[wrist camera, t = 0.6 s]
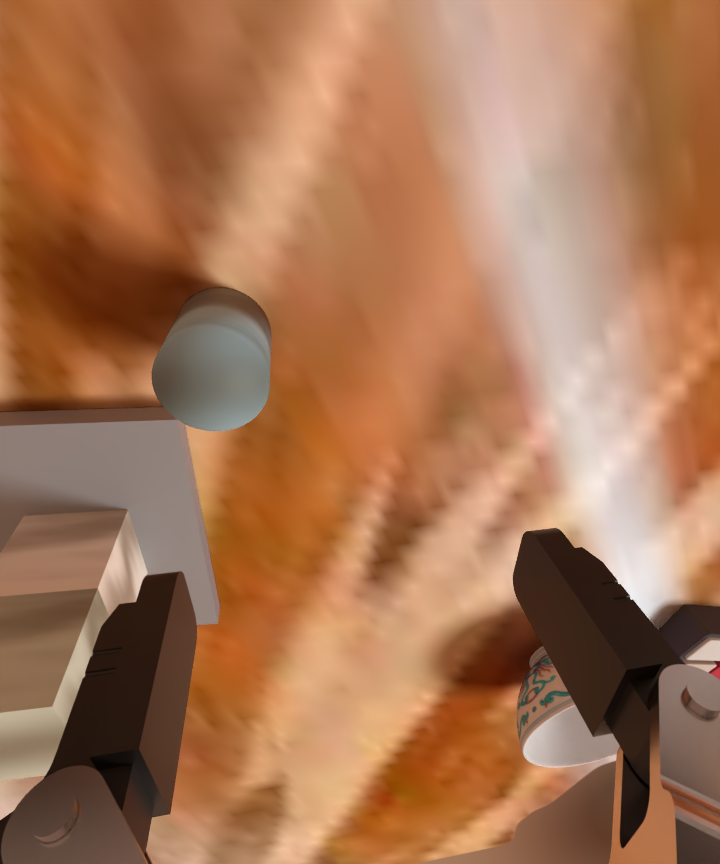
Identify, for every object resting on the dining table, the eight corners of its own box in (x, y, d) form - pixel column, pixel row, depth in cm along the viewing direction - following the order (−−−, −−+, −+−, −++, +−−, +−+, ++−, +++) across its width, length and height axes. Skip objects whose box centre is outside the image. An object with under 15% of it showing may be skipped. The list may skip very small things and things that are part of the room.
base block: (23, 515, 29) (-30, 598, 24) (127, 509, 29) (97, 588, 24) (54, 580, 32) (14, 664, 27) (147, 572, 33) (124, 653, 28)
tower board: (-86, 415, 26) (-104, 429, 24) (181, 406, 28) (176, 419, 26) (32, 624, 36) (24, 642, 35) (219, 606, 38) (217, 623, 37)
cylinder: (168, 287, 24) (140, 331, 19) (268, 287, 25) (265, 329, 20) (184, 375, 27) (163, 433, 22) (273, 373, 27) (272, 429, 22)
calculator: (622, 713, 53) (713, 641, 45) (601, 675, 57) (682, 602, 49) (694, 712, 56) (792, 645, 48) (671, 676, 60) (758, 607, 52)
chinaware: (647, 643, 52) (698, 716, 46) (534, 704, 56) (567, 778, 50) (589, 591, 45) (640, 669, 38) (465, 665, 49) (492, 747, 43)
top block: (-30, 598, 24) (-111, 725, 19) (97, 588, 24) (52, 706, 20) (14, 664, 27) (-46, 787, 22) (124, 653, 28) (91, 768, 23)
